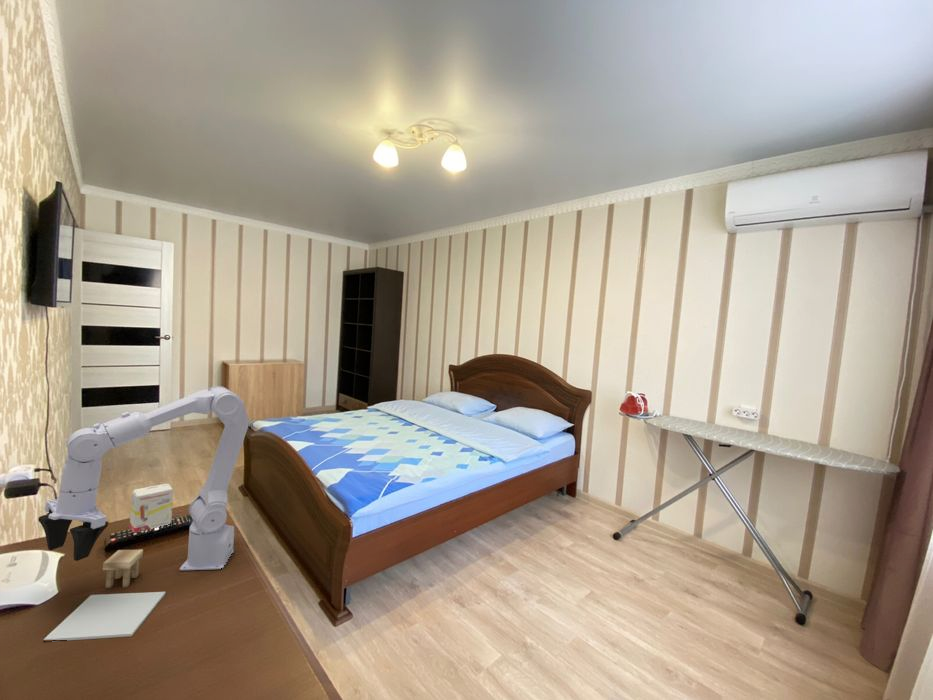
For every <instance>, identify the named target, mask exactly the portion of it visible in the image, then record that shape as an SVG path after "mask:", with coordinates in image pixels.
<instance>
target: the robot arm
mask: <svg viewBox="0 0 933 700" xmlns="http://www.w3.org/2000/svg"><path fill="white" fill-rule="evenodd" d="M245 404H246V403H245V401H244V400H243V399H242V398H241V397H240V396H239V394H237V393H235V392H233V391H231V390H229V389H228V388H227V387H224V386H222V385H221V386H220V385H217V386H212V387H209V388H208V389H206V388H205V389H201V390H199V391H197V392H194V393H192V394H190V395H187V396H185V397H182V398H180V399H178V400H176V401H173V402H170V403H168V404H166V405H163V406H161V407H158V408H155V409H154V410H152V411H149V412H146V413H144V412H143V413H142V412H141V411H133V412H129V411H126V412H122V413H121V414H120V415H121V416H119V417H117V418H114V419H111V420H108V421H106V422H104V423H99V422H97V423H93V424H92V427H85V428H84V427H83V428H80V429H78V430H76V431H74V432H73V433H72V434H71V435H70V436H69V437H68V439H67V440H66V441H65V446H66V449H67V456H66V458H65V462H64V463H65V465H63V468H62V474H61V480H60V486H59V491H58V492H59V493H58V498H56V499H51V500H48V501H46V502H45V505H44V511H45V512H47V513H46V514H43V515H41V516H38V519H37V520H38V522H39V523H40V525H41V526H42V529H43V531H44V534H45V539H46V543H47V544H46V546H47V549H48V551H53V550H56V549H59V548H63V546H64V545H65V543H66V539H67V536H68V533H69V532H70V534H71V536H72V539H73V560H74V561H75V562H78V561H81V560H84V559H85V558H88V557H89V556H90V553H91V552H92V549H93V548H94V545H95V543H97V540H98V539H99V537H100V536H101V534H102V533H103V532H104V531H105V530H106V528H107V527H108V526H109V521H107V515H105V514H103V513H102V512H101V511H100V509H99V508H98V506H97V505H96V503H97V502H96V501H97V496H98V490H99V485H100V479H101V474H102V473H101V472H102V467H103V465H102V460H103V456H104V455H105V454H106V453H107V451H108V450H111V449H115V448H118V447H120V446H123V445H126V444H128V443H130V442H133V441H135V440H138V439H140V438H143V437H145V436H147V435H148V434H149V433H150V431H151V430H152V428H153V427H156V426H158V425H161V424H164V423H168V422H169V421H173V420H175V419H179V418H181V417H184V416H187V415H190V414H192V413H193V414H203V415H210V414H211V413H210V411H211V412H212V413H214V414H215V415H216V416H217V418H219V420H220V421H221V422H222V424H223V426H224V427H223V430H222V433H221V436H220V439H219V442H218V444H217V448H216V450H215V451H216V452H215V454H214V457H213V459H212V463H211V466H210V469H209V472H208V475H207V477H206V480H205V484H204V485H203V487H202V488H201V489H200V490H199V491H198V493H197V495H196V497H195V498H194V499H193V500H192V501H191V503H190V505H189V507H188V514H189V516H190V517H191V518H192V522H191V524H190V525H189V530H188V531H189V532H188V546H187V547H188V548H187V559H186V560H185V561H184V563H182V565H181V566H180V567H179V571H182V572H183V571H203V570H204V571H206V570H209V571H210V570H222V569H224V568H225V566H226V564H227V563H228V561H229V560H230V558H231V557H232V555H233V554H234V551H235V549H234V542H235V541H234V540H235V526H234V525H229V524H226V521H227V520H228V519H227V518H228V514H227V513H228V512H227V506H228V503H229V502H228V501H229V500H228V488H229V485H230V482H231V479H232V476H233V473H234V470H235V468H236V464H237V461H238V458H239V456H240V452H241V450H242V447H243V443H244V441H245V437H246V434H247V432H248V429H249V425H250V420H249V417H248V414H247V410H246V407H245V406H246V405H245ZM73 521H78V522H81V523H82V524H80V525H78V526H75V527H71V528H70V526H71V524H72V523H73ZM232 553H233V554H232ZM231 554H232V555H231ZM230 556H231V557H230ZM229 557H230V558H229ZM228 559H229V560H228ZM226 562H227V563H226ZM224 565H225V566H224ZM221 568H222V569H221Z"/></svg>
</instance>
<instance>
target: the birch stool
mask: <svg viewBox="0 0 933 700" xmlns="http://www.w3.org/2000/svg"><path fill="white" fill-rule="evenodd" d="M142 557H144V549H118V550H116V552H114V553H113V554H112V555H111V556H110V557H109V558H107V559H106V560H104V562H103V563H102V570H103V571H106V574H105V578H106V579H105V588H106V589H111V588H112V587H113V586H114V576H115V580H118V579H121V578H122V588H128V587H129V586H130V584H131V579H136V578H137V577H138V576H139V567H140V559H142Z"/></svg>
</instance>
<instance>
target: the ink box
mask: <svg viewBox="0 0 933 700" xmlns="http://www.w3.org/2000/svg"><path fill="white" fill-rule="evenodd" d="M173 497H174V487H172V486H171V484H170V483H162V484H158V485H157V484H156V485H152V486H146V487H141V488H137V489H136V488H135V489H134V490H133V491H132V492H131V503H130V515H129V516H130V517H129V529H130V530H132V532H134V533H136V532H141V531H144V530H149V529H153V528H157V527H160V526H164V525H168V524H170V523H171V524H172V516H173V504H174V503H173V501H174V498H173ZM171 509H172V510H171Z"/></svg>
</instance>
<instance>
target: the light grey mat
mask: <svg viewBox="0 0 933 700" xmlns="http://www.w3.org/2000/svg"><path fill="white" fill-rule="evenodd" d="M166 594H167V593H166V591H153V592H151V591H150V592H149V591H148V592H129V593H127V592H126V593H108V594H106V593H105V594H104V593H103V594H90V595H89V596H88V597H87V598H86V599H85V600H84V601H83V602H82V603H80V605H78V607H76V608H75V609H74V610H73V612H71V613H70V614H69V615H68V616H67V617H65V618H64V620H62V622H61V623H60V624H58V625H57V626H56V627H55V628H54V629H52V631H51V632H50V633H49V634H48V635H47V636H46V637H44V638H43V640H67V641H79V640H80V641H81V640H96V639H109V638H112V639H113V638H126V637H128V638H129V637H132V636H133V635H134V634H135V633H136V631H137V630H138V629H139V628H140V626H141V625H142V624H143V623H144V621H145V620H146V619H147V618H148V616H149V615H150V614H151V613H152V611H153V610H154V609H155V607H157V605H158V604H159V603H160V601H161V600H162V599H163V598H164V597H165V595H166Z"/></svg>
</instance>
